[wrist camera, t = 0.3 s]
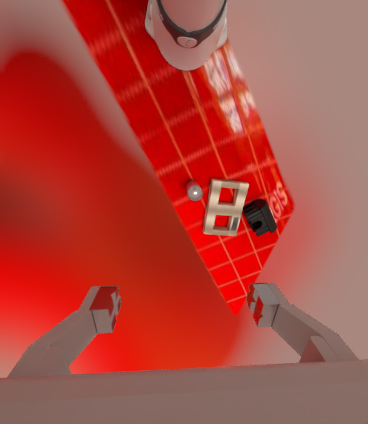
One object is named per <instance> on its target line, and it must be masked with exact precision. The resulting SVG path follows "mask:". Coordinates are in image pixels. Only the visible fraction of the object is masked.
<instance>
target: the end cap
mask: <svg viewBox="0 0 368 424" xmlns="http://www.w3.org/2000/svg"><path fill="white" fill-rule="evenodd" d="M242 211H243V213H244V215H245V217H246V219H247V221H248V223H249V225H250V227H251V228H252V230H253V231H254V232H256V235H257V236H258V237H259V236H261V235H263V234H265V233H267V232H268V231H270V232H271V233H273V232H274V231H275V230H276V229H277V225H276V223H275V220H274V218H273V216H272V213H271V211H270V209H269V206H268V204H267V202H266V201H265V200H256V201H254V202H252V203H250V204H248V205H247V206H245V207H243V210H242Z"/></svg>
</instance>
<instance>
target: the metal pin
mask: <svg viewBox="0 0 368 424" xmlns="http://www.w3.org/2000/svg"><path fill="white" fill-rule="evenodd" d="M186 189H187V193H188V197H189V198H190V199H191V200H193V201H197V200H199V199H200V198H201V197H202V195H203V192H202V190H201V188H200V186H199V184H198V182H197V181H195V180H190V181H188V182H187V184H186Z"/></svg>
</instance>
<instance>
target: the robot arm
mask: <svg viewBox="0 0 368 424" xmlns="http://www.w3.org/2000/svg"><path fill="white" fill-rule="evenodd" d="M150 18H151V20H150ZM145 29H146V31H147V32H148V34H149V35H150V36H151V37H152V38H153V39H154V40H155V41H156V43H157V45H158V48H159V50H160V52H161V54H162V55H163V57H164V58H165V60H166V61H167V62H168V63H169V64H171V65H172V66H173V67H175V68H177V69H180V70H194V69H196V68H198V67H200V66H202V65H203V64H204V63H205V62H206V61H207V60H208V59H209V57H210V56H211V55H212V53H213V52H214V51H215V50H216V49H218V48H220V47H221V46H223V45H224V44H225V42H226V39H227V0H149V1H148V7H147V13H146V19H145ZM249 290H250V291H249V292H248V293H247V303H248V307H249V309H250V310H251V311H252V312H253V318H254V320H255V322H256V324H257V327H272V329H273V330H274V331H276V332H277V333H278V334H279V335H280V336H281V337H282V338H283V339H284V340H285V341H286V342H287V343H288V344H289V345H290V346H291V347H292V348H293V349H294V350H295V351H296V352H297V353H298V354H299V355H300V356H301V359H300V361H299V363H286V364H267V365H249V366H248V365H247V366H230V367H229V366H227V367H208V368H189V369H170V370H150V371H132V372H131V371H130V372H111V373H90V374H71V371H70V369H69V365H70V364H71V363H72V362H73V361H74V360H75V359H76V358H77V356H78V355H79V354H80V353H81V352H82V351H83V350H84V348H85V347H86V346H87V345H88V344H89V343H90V342H91V341H92V339H93V338H94V337H95V336H96V335H97V333H110V332H113V330H114V327H115V324H116V316H117V315H118V313H119V310H120V305H121V297H120V296H119V295H118V294H119V287H117V286H113V287H112V286H101V287H99V286H98V287H96V286H93V287H91V288H90V290H89V292H88V294H87V295H86V297H85V299H84V301H83V303H82V305H81V306H80V308H79V310H78V311H74V312H73V313H72V314H71V315H69V316H68V317H67V318H65V319H64V320H63V321H61V322H60V323H59V324H57V325H56V326H55V327H54V328H52V329H51V330H50V331H48V332H47V333H46V334H44V335H43V336H42V337H40V338H39V339H38V340H36V341H35V342H34V343H33V344H31V345H30V346H29V347H28V348H27V350H26V351H25V353H24V354H23V355H22V357H21V358H20V360H19V361H18V362H17V364H16V365H15V367H14V368H13V370H12V372H11V373H10V374H9V375H8V377H7V378H0V424H368V359H365V360H359V359H358V358H357V357H356V356H355V354H354V353H353V352H352V351H351V349H350V348H349V347H348V346H347V345H346V343H345V342H344V341H343V340H342V339H341V337H340V336H339V335H338V334H337V333H335V332H334V331H332V330H331V329H329V328H327V327H326V326H325V325H323V324H322V323H320V322H319V321H317V320H316V319H314V318H312V317H311V316H309V315H308V314H306V313H305V312H303V311H302V310H300V309H299V308H297V307H296V306H294V305H291V304H290V303H289V302H288V300H287V299H286V298H285V296H284V295H283V293H282V292H281V291H280V289H279V288H278V286H277V285H276V284H275V283H251V284H250V285H249Z"/></svg>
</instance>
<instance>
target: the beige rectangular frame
mask: <svg viewBox="0 0 368 424" xmlns="http://www.w3.org/2000/svg"><path fill="white" fill-rule="evenodd" d="M248 186H249V184H248V183H246V182H243V181H232V180H222V179H212V178H211V183H210V188H209V194H208V200H207V206H206V212H205V218H204V224H203V232H204V234H213V235H228V236H236V233H237V229H238V226H239V222H240V218H241V214H242V210H243V206H244V202H245V198H246V194H247V190H248ZM221 187H225V188H235V192H234V197H233V201H232V203H229V202H218V200H219V195H220V190H221ZM216 215H228V216H229V219H228V223H227V227H221V226H214V221H215V216H216Z"/></svg>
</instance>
